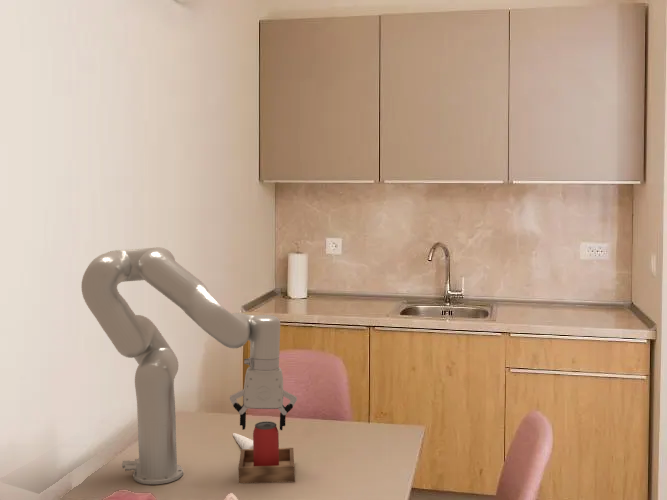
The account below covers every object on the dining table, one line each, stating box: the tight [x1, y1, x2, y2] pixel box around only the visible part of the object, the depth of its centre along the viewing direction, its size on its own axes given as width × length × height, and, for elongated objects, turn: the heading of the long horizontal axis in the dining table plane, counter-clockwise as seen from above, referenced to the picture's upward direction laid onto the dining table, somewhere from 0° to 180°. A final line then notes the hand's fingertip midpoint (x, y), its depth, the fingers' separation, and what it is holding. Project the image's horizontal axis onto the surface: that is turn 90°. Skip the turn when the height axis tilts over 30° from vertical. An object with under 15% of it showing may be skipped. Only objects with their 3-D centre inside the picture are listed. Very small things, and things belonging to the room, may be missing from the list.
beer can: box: [252, 420, 280, 466], centre depth 206 cm, size 7×7×12 cm
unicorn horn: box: [232, 432, 253, 449], centre depth 227 cm, size 5×24×5 cm, turn 19°
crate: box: [238, 447, 295, 484], centre depth 207 cm, size 14×14×4 cm
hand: (262, 428), depth 206 cm, fingers open, 9 cm apart
